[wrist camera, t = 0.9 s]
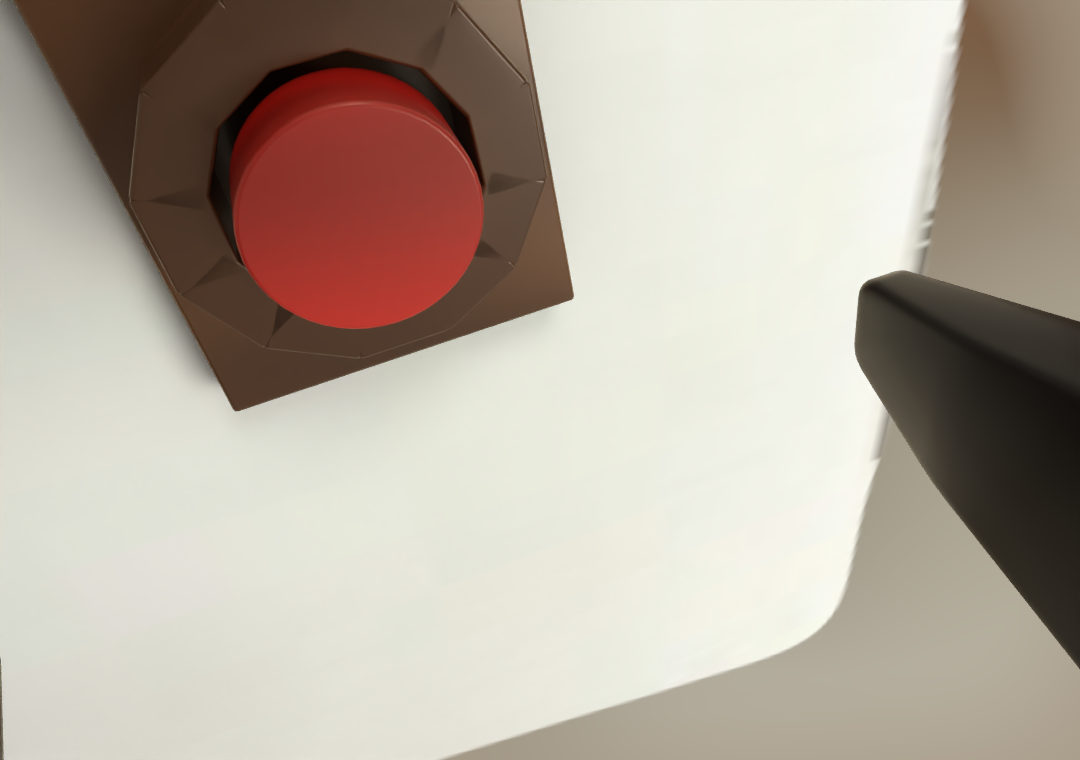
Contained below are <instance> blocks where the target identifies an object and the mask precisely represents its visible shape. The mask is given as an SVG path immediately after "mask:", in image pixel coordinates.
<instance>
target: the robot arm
mask: <svg viewBox="0 0 1080 760" xmlns="http://www.w3.org/2000/svg"><path fill="white" fill-rule="evenodd" d="M855 354H856V357H857V361H858V363H859V365H860V367H861V369H862V371H863V373H864V374H865V376H866V377H867V379H868V381H869V382H870V384H871V385H872V387H873V389H874V390H875V392H876V393H877V395H878V397H879V398H880V400H881V401H882V403H883V405H884V406H885V408H886V409H887V411H888V413H889V414H890V416H891V418H892V419H893V421H894V422H895V424H896V426H897V427H898V429H899V430H900V432H901V434H902V435H903V437H904V438H905V440H906V442H907V443H908V445H909V446H910V448H911V450H912V451H913V453H914V454H915V456H916V457H917V459H918V461H919V462H920V464H921V466H922V467H923V468H924V470H925V471H926V473H927V475H928V476H929V477H930V479H931V481H932V482H933V484H934V485H935V486H936V488H937V489H938V490H939V491H940V493H941V494H942V496H943V497H944V498H945V499H946V501H947V502H948V503H949V505H950V506H951V507H952V508H953V510H954V511H955V512H956V514H957V515H958V516H959V517H960V519H961V520H962V521H963V522H964V523H965V525H966V526H967V527H968V529H969V530H970V531H971V532H972V533H973V535H974V536H975V537H976V539H977V540H978V541H979V542H980V544H981V545H982V546H983V548H984V549H985V550H986V551H987V553H988V554H989V555H990V556H991V558H992V559H993V560H994V561H995V563H996V564H997V565H998V566H999V568H1000V569H1001V570H1002V571H1003V573H1004V574H1005V575H1006V577H1007V578H1008V579H1009V580H1010V582H1011V583H1012V584H1013V585H1014V587H1015V588H1016V589H1017V590H1018V592H1019V593H1020V594H1021V595H1022V597H1023V598H1024V599H1025V601H1027V603H1028V604H1029V605H1030V607H1031V608H1032V609H1033V610H1034V612H1035V613H1036V614H1037V616H1038V617H1039V618H1040V619H1041V621H1042V622H1043V623H1044V624H1045V626H1046V627H1047V628H1048V629H1049V631H1050V632H1051V633H1052V635H1053V636H1054V637H1055V638H1056V640H1057V641H1058V642H1059V643H1060V645H1061V646H1062V647H1063V648H1064V650H1065V651H1066V652H1067V653H1068V655H1069V656H1070V657H1071V659H1072V660H1073V661H1074V662H1075V664H1076V665H1077V666H1078V667H1079V669H1080V322H1079V321H1075V320H1072V319H1069V318H1065V317H1062V316H1058V315H1054V314H1052V313H1048V312H1045V311H1041V310H1038V309H1034V308H1031V307H1028V306H1024V305H1021V304H1018V303H1014V302H1010V301H1008V300H1004V299H1001V298H997V297H994V296H991V295H987V294H984V293H980V292H977V291H973V290H970V289H967V288H963V287H960V286H956V285H953V284H950V283H946V282H943V281H940V280H936V279H933V278H929V277H926V276H923V275H919V274H916V273H912V272H909V271H895V272H892V273H889V274H886V275H883V276H880V277H877V278H874V279H871V280H868V281H867V282H865V283H864V284H863V285H862V287H861V289H860V291H859V297H858V308H857V320H856V332H855ZM0 760H4V757H3V719H2V681H1V659H0Z"/></svg>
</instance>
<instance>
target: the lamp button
mask: <svg viewBox="0 0 1080 760" xmlns="http://www.w3.org/2000/svg"><path fill="white" fill-rule="evenodd" d="M229 181H230V195H231V207H232V218H233V230H234V235H235V240H236V245H237V248H238V251H239V253H240V256H241V259H242V261H243V263H244V265H245V267H246V268H247V270H248V272H249V274H250V275H251V277H252V278H253V279H254V281H255V282H256V283H257V285H258V286H259V287H260V288H261V289H262V290H263V291H264V292H265V293H266V294H267V295H268V296H269V297H270V298H271V299H273V300H274V301H275V302H276V303H278V304H279V305H280V306H282V307H283V308H285V309H287V310H288V311H290V312H292V313H293V314H295V315H297V316H299V317H302V318H304V319H306V320H309V321H311V322H315V323H318V324H321V325H325V326H331V327H336V328H347V329H364V328H374V327H380V326H385V325H389V324H393V323H397V322H400V321H402V320H405V319H407V318H410V317H412V316H414V315H416V314H418V313H420V312H422V311H424V310H425V309H427V308H428V307H430V306H431V305H433V304H434V303H436V302H437V301H438V300H440V299H441V298H442V297H443V296H444V295H445V294H447V293H448V292H449V291H450V290H451V289H452V287H453V286H454V285H455V284H456V283H457V282H458V281H459V279H460V278H461V277H462V275H463V274H464V272H465V271H466V270H467V268H468V266H469V264H470V262H471V261H472V259H473V257H474V254H475V252H476V249H477V246H478V244H479V240H480V236H481V232H482V227H483V218H484V203H483V195H482V189H481V185H480V181H479V178H478V175H477V172H476V170H475V168H474V166H473V164H472V162H471V160H470V158H469V156H468V155H467V153H466V152H465V150H464V148H463V147H462V145H461V144H460V142H459V141H458V139H457V137H456V136H455V134H454V133H453V131H452V130H451V128H450V126H449V125H448V123H447V122H446V120H445V119H444V117H443V116H442V114H441V113H440V112H439V110H438V109H437V108H436V107H435V106H434V105H433V104H432V103H431V101H430V100H428V99H427V98H426V97H425V96H424V95H423V94H421V93H420V92H419V91H418V90H416V89H415V88H413V87H412V86H410V85H408V84H407V83H405V82H403V81H401V80H399V79H397V78H395V77H393V76H390V75H387V74H384V73H381V72H378V71H373V70H368V69H362V68H347V67H342V68H330V69H324V70H319V71H315V72H311V73H308V74H305V75H302V76H300V77H297V78H295V79H293V80H291V81H289V82H287V83H285V84H283V85H281V86H280V87H279V88H277V89H276V90H274V91H273V92H272V93H270V94H269V95H268V96H267V97H266V98H265V99H264V100H262V101H261V102H260V103H259V104H258V105H257V106H256V108H255V109H254V110H253V111H252V113H251V114H250V115H249V116H248V118H247V119H246V121H245V123H244V125H243V126H242V128H241V130H240V131H239V134H238V136H237V139H236V141H235V144H234V147H233V151H232V156H231V160H230V171H229Z"/></svg>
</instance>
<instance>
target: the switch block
mask: <svg viewBox="0 0 1080 760" xmlns="http://www.w3.org/2000/svg"><path fill="white" fill-rule="evenodd" d="M13 2H14V4H15V5H16V7H17V9H18V11H19V13H20V15H21V16H22V18H23V20H24V22H25V24H26V26H27V28H28V29H29V31H30V33H31V35H32V37H33V39H34V41H35V42H36V44H37V46H38V48H39V50H40V52H41V54H42V55H43V57H44V59H45V61H46V63H47V65H48V67H49V68H50V70H51V72H52V74H53V76H54V78H55V80H56V81H57V83H58V85H59V87H60V89H61V91H62V93H63V94H64V96H65V98H66V100H67V102H68V104H69V106H70V107H71V109H72V111H73V113H74V115H75V117H76V119H77V120H78V122H79V124H80V126H81V128H82V130H83V132H84V133H85V135H86V137H87V139H88V141H89V143H90V145H91V146H92V148H93V150H94V152H95V154H96V156H97V158H98V159H99V161H100V163H101V165H102V167H103V169H104V171H105V172H106V174H107V176H108V178H109V180H110V182H111V183H112V185H113V187H114V189H115V191H116V193H117V195H118V196H119V198H120V200H121V202H122V204H123V206H124V208H125V209H126V211H127V213H128V215H129V217H130V219H131V221H132V222H133V224H134V226H135V228H136V230H137V232H138V234H139V235H140V237H141V239H142V241H143V243H144V245H145V247H146V248H147V250H148V252H149V254H150V256H151V258H152V260H153V261H154V263H155V265H156V267H157V269H158V271H159V273H160V274H161V276H162V278H163V280H164V282H165V284H166V286H167V287H168V289H169V291H170V293H171V295H172V297H173V299H174V300H175V302H176V304H177V306H178V308H179V310H180V312H181V313H182V315H183V317H184V319H185V321H186V323H187V325H188V326H189V328H190V330H191V332H192V334H193V336H194V338H195V339H196V341H197V343H198V345H199V347H200V349H201V350H202V352H203V354H204V356H205V358H206V360H207V362H208V363H209V365H210V367H211V369H212V371H213V373H214V375H215V376H216V378H217V380H218V382H219V384H220V386H221V388H222V389H223V391H224V393H225V395H226V397H227V399H228V401H229V402H230V404H231V406H232V408H233V409H234V410H235V411H240V410H243V409H246V408H249V407H252V406H255V405H258V404H261V403H264V402H267V401H270V400H273V399H276V398H279V397H282V396H285V395H288V394H291V393H294V392H297V391H300V390H303V389H306V388H309V387H312V386H315V385H318V384H321V383H324V382H327V381H330V380H333V379H336V378H339V377H342V376H345V375H348V374H351V373H354V372H357V371H360V370H363V369H366V368H369V367H372V366H375V365H378V364H381V363H384V362H387V361H390V360H393V359H396V358H399V357H402V356H405V355H408V354H411V353H414V352H417V351H420V350H423V349H426V348H429V347H432V346H435V345H438V344H441V343H444V342H447V341H450V340H453V339H456V338H459V337H462V336H465V335H468V334H471V333H474V332H477V331H480V330H482V329H485V328H488V327H491V326H494V325H497V324H500V323H503V322H506V321H509V320H512V319H515V318H518V317H521V316H524V315H527V314H530V313H533V312H536V311H539V310H542V309H545V308H548V307H551V306H554V305H557V304H560V303H563V302H566V301H569V300H572V299H573V297H574V293H573V287H572V282H571V276H570V271H569V265H568V260H567V254H566V249H565V243H564V238H563V232H562V227H561V221H560V216H559V210H558V204H557V199H556V193H555V188H554V182H553V177H552V171H551V166H550V160H549V155H548V149H547V144H546V138H545V133H544V127H543V122H542V116H541V110H540V105H539V99H538V94H537V88H536V83H535V77H534V72H533V66H532V61H531V55H530V50H529V44H528V39H527V33H526V28H525V22H524V16H523V11H522V5H521V0H13ZM342 67H347V68H362V69H368V70H373V71H378V72H381V73H384V74H387V75H390V76H393V77H395V78H397V79H399V80H401V81H403V82H405V83H407V84H408V85H410V86H412V87H413V88H415V89H416V90H418V91H419V92H420V93H421V94H423V95H424V96H425V97H426V98H427V99H428V100H430V101H431V103H432V104H433V105H434V106H435V107H436V108H437V109H438V110H439V112H440V113H441V114H442V116H443V117H444V119H445V120H446V122H447V123H448V125H449V126H450V128H451V130H452V131H453V133H454V134H455V136H456V137H457V139H458V141H459V142H460V144H461V145H462V147H463V148H464V150H465V152H466V153H467V155H468V156H469V158H470V160H471V162H472V164H473V166H474V168H475V170H476V172H477V175H478V178H479V181H480V185H481V189H482V195H483V203H484V218H483V227H482V232H481V236H480V240H479V244H478V246H477V249H476V252H475V254H474V257H473V259H472V261H471V262H470V264H469V266H468V268H467V270H466V271H465V272H464V274H463V275H462V277H461V278H460V279H459V281H458V282H457V283H456V284H455V285H454V286H453V287H452V289H451V290H450V291H449V292H448V293H447V294H445V295H444V296H443V297H442V298H441V299H440V300H438V301H437V302H436V303H434V304H433V305H431V306H430V307H428V308H427V309H425V310H424V311H422V312H420V313H418V314H416V315H414V316H412V317H410V318H407V319H405V320H402V321H400V322H397V323H393V324H389V325H385V326H380V327H374V328H364V329H347V328H336V327H331V326H325V325H321V324H318V323H315V322H311V321H309V320H306V319H304V318H302V317H299V316H297V315H295V314H293V313H292V312H290V311H288V310H287V309H285V308H283V307H282V306H280V305H279V304H278V303H276V302H275V301H274V300H273V299H271V298H270V297H269V296H268V295H267V294H266V293H265V292H264V291H263V290H262V289H261V288H260V287H259V286H258V285H257V283H256V282H255V281H254V279H253V278H252V277H251V275H250V274H249V272H248V270H247V268H246V267H245V265H244V263H243V261H242V259H241V256H240V253H239V251H238V248H237V245H236V240H235V235H234V230H233V218H232V207H231V195H230V181H229V171H230V160H231V156H232V151H233V147H234V144H235V141H236V139H237V136H238V134H239V131H240V130H241V128H242V126H243V125H244V123H245V121H246V119H247V118H248V116H249V115H250V114H251V113H252V111H253V110H254V109H255V108H256V106H257V105H258V104H259V103H260V102H261V101H262V100H264V99H265V98H266V97H267V96H268V95H269V94H270V93H272V92H273V91H274V90H276V89H277V88H279V87H280V86H281V85H283V84H285V83H287V82H289V81H291V80H293V79H295V78H297V77H300V76H302V75H305V74H308V73H311V72H315V71H319V70H324V69H330V68H342Z"/></svg>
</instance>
